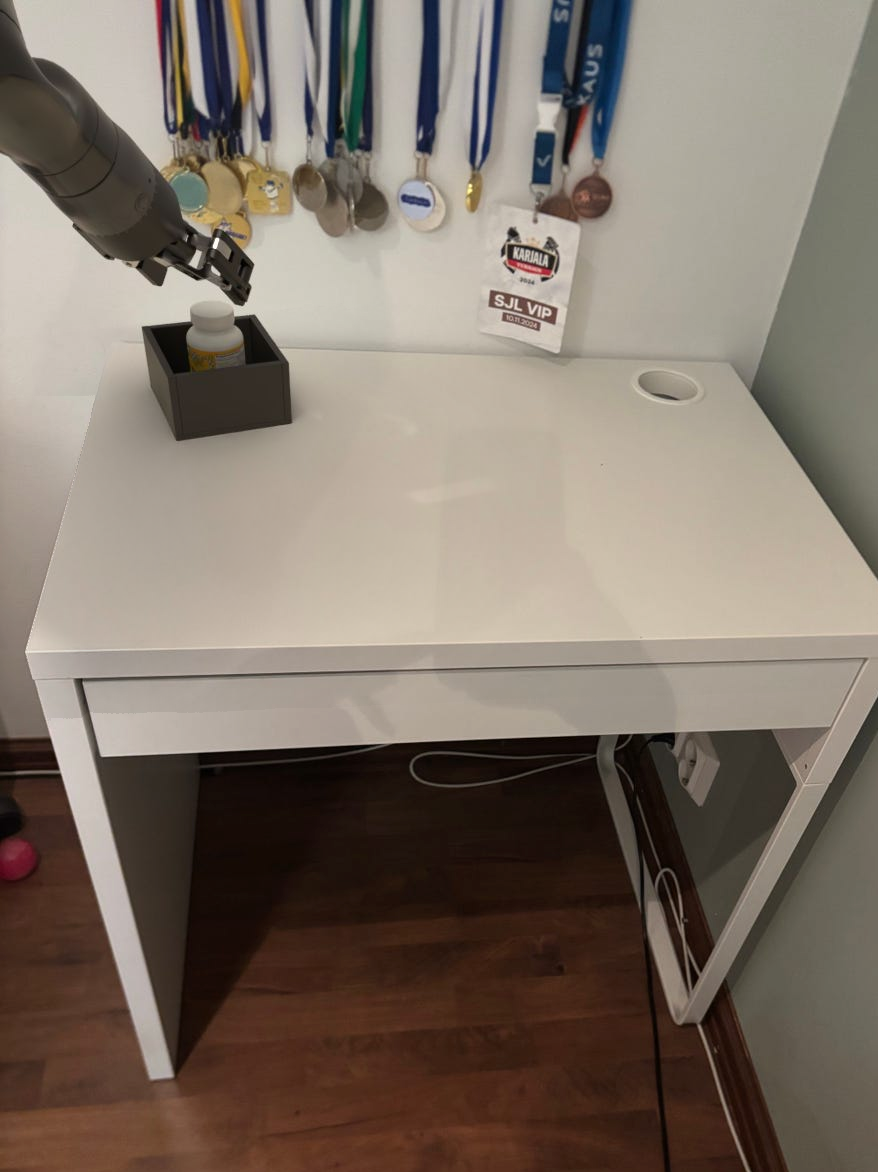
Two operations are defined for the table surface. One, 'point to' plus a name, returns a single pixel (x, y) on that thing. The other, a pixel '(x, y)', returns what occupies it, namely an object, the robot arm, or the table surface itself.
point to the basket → (218, 383)
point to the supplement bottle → (214, 337)
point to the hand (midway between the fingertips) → (202, 286)
